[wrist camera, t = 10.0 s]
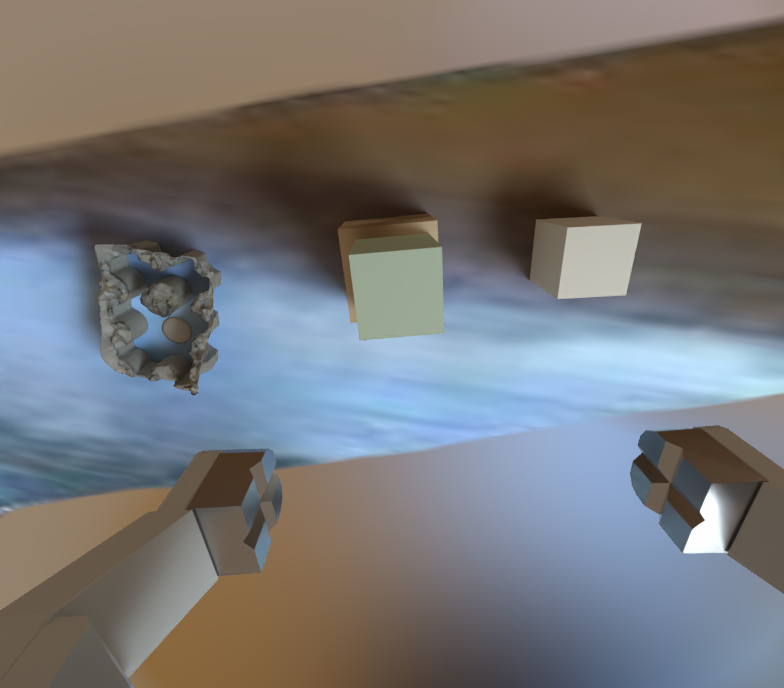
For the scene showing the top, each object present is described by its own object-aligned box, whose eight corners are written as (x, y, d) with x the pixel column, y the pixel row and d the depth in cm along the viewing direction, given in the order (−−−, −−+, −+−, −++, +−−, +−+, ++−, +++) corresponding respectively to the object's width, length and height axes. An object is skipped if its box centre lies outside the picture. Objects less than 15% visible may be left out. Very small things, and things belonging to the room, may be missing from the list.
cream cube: (597, 215, 27) (641, 223, 22) (586, 276, 28) (625, 295, 24) (535, 219, 27) (567, 227, 22) (529, 279, 28) (557, 298, 24)
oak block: (427, 213, 26) (437, 220, 22) (431, 293, 29) (440, 314, 24) (345, 221, 26) (337, 229, 22) (355, 300, 29) (350, 322, 24)
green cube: (429, 233, 22) (442, 246, 17) (431, 303, 24) (443, 333, 19) (355, 239, 22) (348, 255, 17) (363, 309, 24) (359, 340, 19)
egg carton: (220, 376, 32) (198, 403, 28) (128, 355, 30) (92, 380, 27) (232, 257, 27) (208, 269, 24) (126, 228, 26) (83, 237, 22)
